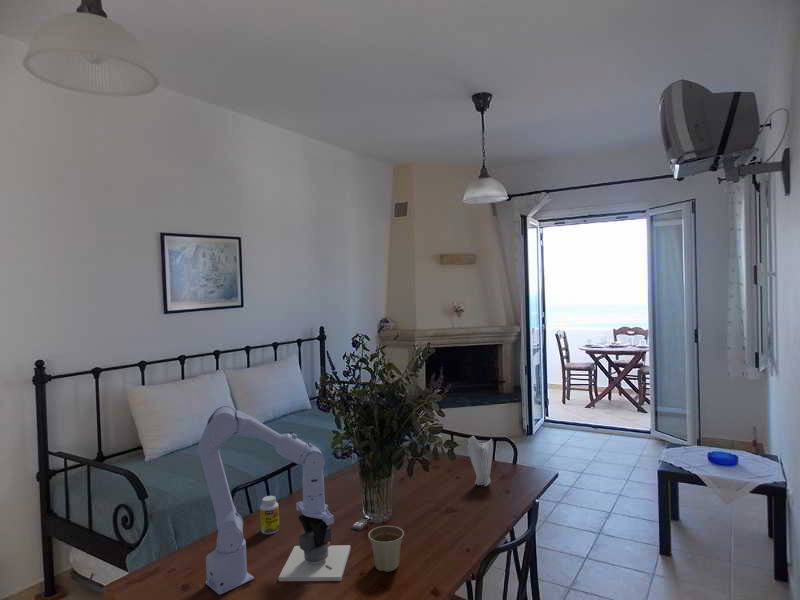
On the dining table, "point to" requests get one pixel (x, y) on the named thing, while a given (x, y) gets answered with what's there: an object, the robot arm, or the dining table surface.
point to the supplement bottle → (269, 515)
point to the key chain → (359, 524)
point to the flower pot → (386, 547)
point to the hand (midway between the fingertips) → (315, 543)
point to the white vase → (481, 459)
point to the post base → (316, 565)
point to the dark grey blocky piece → (314, 546)
